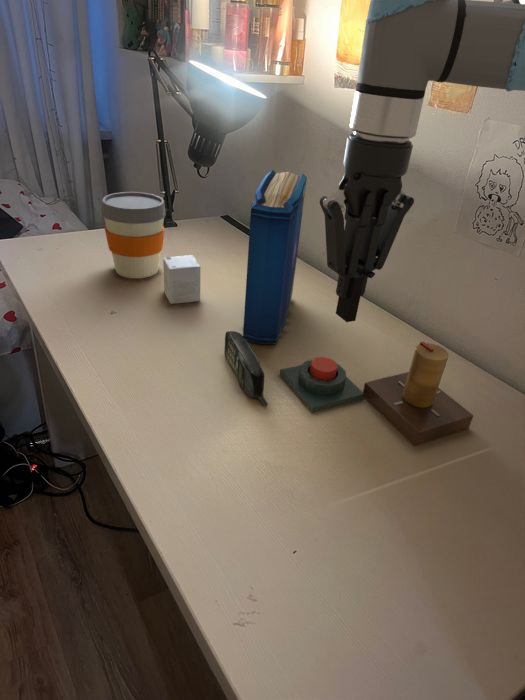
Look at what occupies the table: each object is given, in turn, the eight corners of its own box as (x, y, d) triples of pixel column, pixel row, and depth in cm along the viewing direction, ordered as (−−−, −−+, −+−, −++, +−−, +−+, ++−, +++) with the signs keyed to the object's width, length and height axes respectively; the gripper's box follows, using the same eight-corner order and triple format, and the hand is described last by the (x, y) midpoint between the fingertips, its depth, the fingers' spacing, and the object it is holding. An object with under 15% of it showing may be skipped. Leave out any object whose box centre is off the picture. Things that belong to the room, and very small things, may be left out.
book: (278, 352, 85) (295, 204, 72) (237, 346, 86) (246, 198, 73) (292, 298, 103) (307, 172, 90) (258, 293, 104) (268, 167, 91)
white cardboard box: (200, 301, 99) (201, 266, 95) (169, 304, 97) (169, 268, 93) (192, 288, 103) (193, 254, 100) (163, 291, 101) (162, 256, 97)
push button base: (327, 365, 83) (330, 349, 81) (363, 400, 76) (367, 384, 74) (279, 375, 79) (281, 359, 78) (311, 413, 72) (314, 396, 70)
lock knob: (439, 403, 72) (456, 354, 68) (416, 410, 70) (432, 360, 66) (418, 386, 75) (433, 338, 71) (396, 392, 74) (409, 344, 69)
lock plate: (412, 382, 81) (416, 368, 79) (468, 429, 72) (474, 414, 70) (361, 395, 77) (365, 381, 75) (414, 446, 68) (419, 431, 66)
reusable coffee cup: (96, 265, 109) (89, 195, 101) (147, 254, 117) (144, 188, 109) (125, 286, 102) (120, 213, 94) (178, 273, 109) (177, 204, 101)
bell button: (326, 364, 78) (328, 354, 77) (340, 378, 75) (342, 368, 75) (304, 369, 77) (306, 359, 76) (318, 383, 74) (320, 373, 73)
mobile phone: (222, 329, 81) (254, 380, 69) (239, 327, 82) (275, 377, 70) (221, 355, 83) (252, 409, 71) (238, 353, 84) (272, 406, 72)
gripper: (403, 130, 63) (367, 299, 76) (315, 129, 58) (291, 311, 70) (446, 142, 58) (399, 322, 70) (353, 142, 52) (320, 337, 65)
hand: (345, 316), depth 70 cm, fingers closed
